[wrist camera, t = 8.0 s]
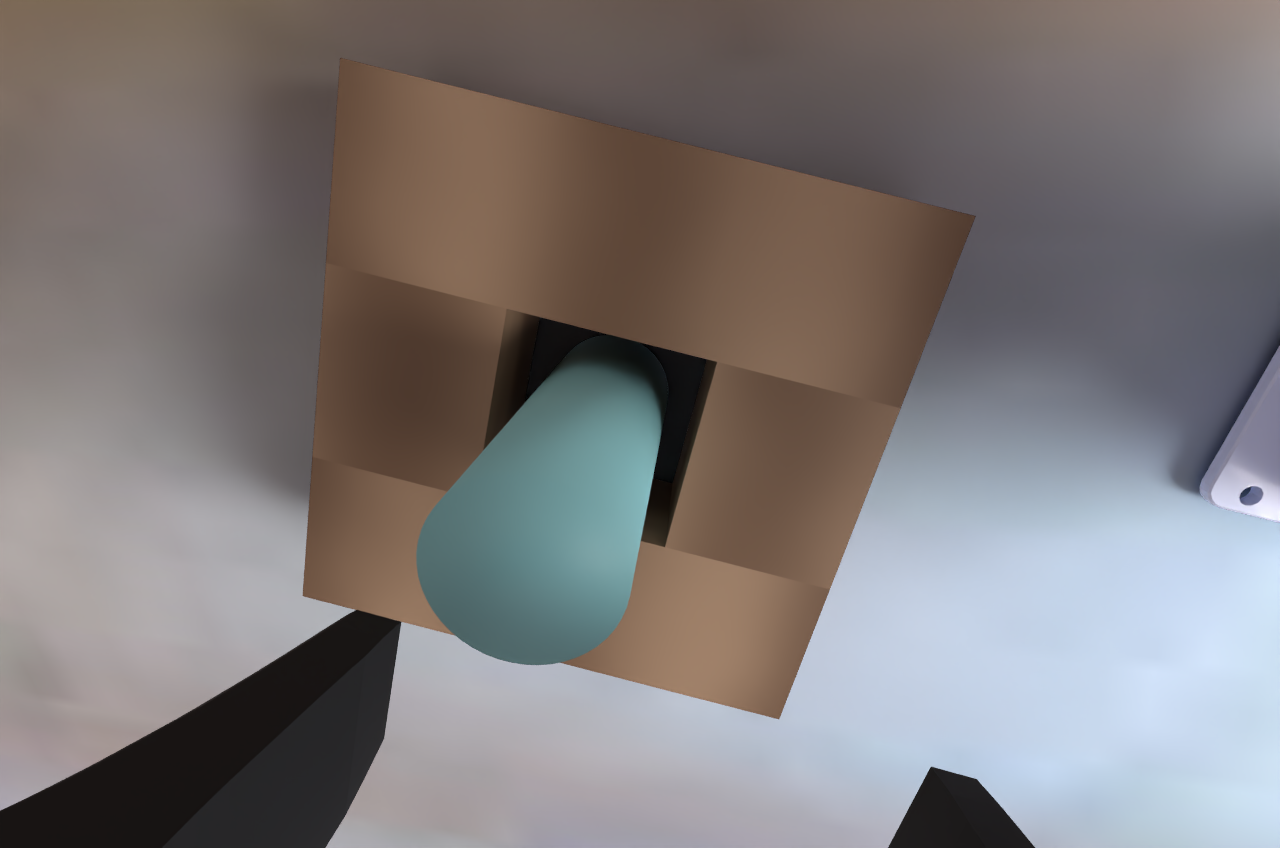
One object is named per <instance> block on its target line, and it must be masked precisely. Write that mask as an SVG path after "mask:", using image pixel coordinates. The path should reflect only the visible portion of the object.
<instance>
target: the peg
mask: <svg viewBox="0 0 1280 848" xmlns="http://www.w3.org/2000/svg"><path fill="white" fill-rule="evenodd" d="M667 402H668V382H667V378H666V374H665V372H664V370H663V367H662V366H661V364H660V362H659V361H658V359H657V358H656V357H655V355H654V354H653V353H652V352H651V351H650V350H649V349H647V348H646V347H645V346H643V345H642V344H640V343H638V342H637V341H633V340H629V339H625V338H621V337H617V336H613V335H602V336H596V337H593V338H590V339H587V340H585V341H583V342H581V343H580V344H578V345H577V346H575V347H574V348H573V349H572V350H571V351H570V352H569V353H568V354H567V355H566V356H565V357H564V359H563V360H562V361H561V362H560V363H559V364H558V365H557V367H556V368H555V369H554V370H553V371H552V372H551V374H550V375H549V376H548V377H547V378H546V379H545V380H544V382H543V383H542V384H541V385H540V386H539V387H538V388H537V390H536V391H535V392H534V393H533V394H532V395H531V396H530V398H529V399H528V400H527V401H526V402H525V403H524V404H523V406H522V407H521V408H520V409H519V410H518V411H517V413H516V414H515V415H514V416H513V417H512V418H511V419H510V421H509V422H508V423H507V424H506V425H505V426H504V427H503V429H502V430H501V431H500V432H499V433H498V434H497V435H496V437H495V438H494V439H493V440H492V441H491V442H490V443H489V445H488V446H487V447H486V448H485V449H484V450H483V451H482V453H481V454H480V455H479V456H478V457H477V458H476V460H475V461H474V462H473V463H472V464H471V465H470V466H469V468H468V469H467V470H466V471H465V472H464V473H463V474H462V476H461V477H460V478H459V479H458V480H457V481H456V482H455V484H454V485H453V486H452V487H451V488H450V489H449V490H448V492H447V493H446V494H445V495H444V496H443V497H442V499H441V500H440V501H439V502H438V503H437V504H436V505H435V507H434V508H433V509H432V511H431V512H430V514H429V515H428V517H427V518H426V520H425V523H424V525H423V527H422V529H421V532H420V536H419V539H418V544H417V551H416V565H417V572H418V578H419V581H420V584H421V588H422V590H423V593H424V595H425V597H426V600H427V601H428V603H429V605H430V607H431V608H432V610H433V612H434V613H435V614H436V615H437V617H438V618H439V619H440V621H441V622H442V623H443V624H444V625H445V626H446V627H447V628H448V629H449V630H450V631H451V632H452V633H453V634H454V635H456V636H457V637H458V638H459V639H460V640H462V641H463V642H465V643H466V644H468V645H469V646H471V647H472V648H474V649H476V650H478V651H480V652H482V653H484V654H486V655H489V656H492V657H494V658H497V659H500V660H504V661H508V662H512V663H518V664H526V665H546V664H554V663H560V662H564V661H568V660H571V659H574V658H577V657H579V656H581V655H583V654H585V653H587V652H589V651H591V650H592V649H594V648H595V647H597V646H598V645H599V644H601V643H602V642H603V641H604V640H605V639H607V638H608V636H609V635H610V634H611V633H612V632H613V631H614V630H615V628H616V627H617V625H618V624H619V622H620V621H621V619H622V617H623V615H624V613H625V610H626V608H627V605H628V601H629V598H630V593H631V588H632V583H633V578H634V573H635V567H636V562H637V557H638V552H639V547H640V542H641V536H642V531H643V526H644V521H645V516H646V511H647V505H648V500H649V495H650V490H651V485H652V480H653V474H654V469H655V464H656V459H657V454H658V449H659V444H660V438H661V433H662V428H663V423H664V418H665V413H666V407H667Z"/></svg>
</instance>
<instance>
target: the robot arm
mask: <svg viewBox="0 0 1280 848" xmlns="http://www.w3.org/2000/svg"><path fill="white" fill-rule="evenodd" d="M1250 486H1251V489H1250V492H1249V493H1248V494H1247V495H1246V496H1245V497H1242V498H1240V499H1239V497H1240V493H1241V492H1242V491H1243V490H1244V489H1246V488H1248V487H1250ZM1199 488H1200V494H1201V496H1202V497H1203V498H1204V499H1205V500H1206V501H1208V502H1210V503H1211V504H1213V505H1215V506H1217V507H1219V508H1223V509H1227V510H1231V511H1235V512H1239V513H1242V514H1246V515H1250V516H1254V517H1258V518H1262V519H1266V520H1270V521H1274V522H1278V523H1280V346H1279V348H1278V349H1277V351H1276V353H1275V354H1274V356H1273V358H1272V360H1271V361H1270V363H1269V365H1268V367H1267V368H1266V370H1265V372H1264V373H1263V375H1262V377H1261V379H1260V380H1259V382H1258V384H1257V386H1256V387H1255V389H1254V391H1253V392H1252V394H1251V396H1250V398H1249V399H1248V401H1247V403H1246V405H1245V406H1244V408H1243V410H1242V411H1241V413H1240V415H1239V417H1238V418H1237V420H1236V422H1235V424H1234V425H1233V427H1232V429H1231V430H1230V432H1229V434H1228V436H1227V437H1226V439H1225V441H1224V443H1223V444H1222V446H1221V448H1220V450H1219V451H1218V453H1217V455H1216V456H1215V458H1214V460H1213V462H1212V463H1211V465H1210V467H1209V469H1208V470H1207V472H1206V474H1205V475H1204V477H1203V479H1202V481H1201V484H1200V487H1199ZM400 627H401V622H400V621H397V620H393V619H389V618H386V617H382V616H378V615H375V614H371V613H368V612H364V611H360V610H355V611H354V612H352V613H350V614H348V615H346V616H345V617H343V618H341V619H340V620H338V621H337V622H335V623H333V624H332V625H330V626H329V627H327V628H326V629H324V630H322V631H321V632H319V633H318V634H316V635H314V636H313V637H311V638H310V639H308V640H307V641H305V642H303V643H302V644H300V645H299V646H297V647H296V648H294V649H292V650H291V651H289V652H288V653H286V654H284V655H283V656H281V657H280V658H278V659H276V660H275V661H273V662H272V663H270V664H268V665H267V666H265V667H264V668H262V669H260V670H259V671H257V672H255V673H254V674H252V675H250V676H249V677H247V678H245V679H244V680H242V681H240V682H239V683H237V684H235V685H234V686H232V687H230V688H229V689H227V690H225V691H224V692H222V693H220V694H219V695H217V696H215V697H214V698H212V699H210V700H209V701H207V702H205V703H203V704H202V705H200V706H198V707H197V708H195V709H193V710H192V711H190V712H188V713H186V714H185V715H183V716H181V717H179V718H178V719H176V720H174V721H172V722H170V723H169V724H167V725H165V726H163V727H161V728H159V729H158V730H156V731H154V732H152V733H150V734H148V735H147V736H145V737H143V738H141V739H139V740H137V741H136V742H134V743H132V744H130V745H128V746H126V747H125V748H123V749H121V750H119V751H117V752H116V753H114V754H112V755H110V756H108V757H106V758H105V759H103V760H101V761H99V762H97V763H95V764H93V765H91V766H89V767H88V768H86V769H84V770H82V771H80V772H78V773H76V774H74V775H72V776H70V777H68V778H66V779H64V780H62V781H60V782H58V783H56V784H54V785H52V786H50V787H48V788H46V789H44V790H42V791H40V792H38V793H36V794H34V795H32V796H30V797H28V798H26V799H24V800H22V801H20V802H18V803H16V804H14V805H11V806H9V807H7V808H5V809H3V810H1V811H0V848H325V847H326V846H327V844H328V842H329V841H330V839H331V838H332V836H333V835H334V833H335V831H336V830H337V828H338V827H339V825H340V823H341V822H342V820H343V818H344V817H345V815H346V813H347V811H348V809H349V807H350V805H351V803H352V801H353V800H354V798H355V796H356V794H357V792H358V790H359V788H360V786H361V784H362V782H363V780H364V778H365V776H366V774H367V772H368V770H369V768H370V766H371V764H372V762H373V760H374V758H375V756H376V754H377V752H378V750H379V748H380V746H381V743H382V741H383V739H384V735H385V728H386V721H387V714H388V708H389V701H390V694H391V687H392V681H393V674H394V667H395V660H396V654H397V647H398V640H399V633H400ZM888 848H1035V847H1034V846H1033V845H1032V843H1031V842H1030V841H1029V840H1028V839H1027V837H1026V836H1025V835H1024V834H1023V833H1022V831H1021V830H1020V829H1019V828H1018V826H1017V825H1016V824H1015V823H1014V822H1013V820H1012V819H1011V818H1010V817H1009V816H1008V815H1007V813H1006V812H1005V811H1004V810H1003V809H1002V807H1001V806H1000V805H999V804H998V803H997V802H996V800H995V799H994V798H993V797H992V796H991V795H990V794H989V793H988V791H987V790H986V789H985V788H984V787H983V786H982V785H981V784H980V782H979V781H978V780H977V779H974V778H970V777H967V776H963V775H959V774H956V773H952V772H948V771H945V770H941V769H938V768H934V767H931V768H930V770H929V771H928V773H927V775H926V777H925V779H924V781H923V783H922V785H921V787H920V788H919V790H918V792H917V794H916V796H915V798H914V800H913V802H912V804H911V805H910V807H909V809H908V811H907V813H906V815H905V817H904V819H903V821H902V822H901V824H900V826H899V828H898V830H897V832H896V834H895V836H894V838H893V839H892V841H891V843H890V845H889V847H888Z"/></svg>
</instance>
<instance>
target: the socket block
mask: <svg viewBox="0 0 1280 848" xmlns="http://www.w3.org/2000/svg"><path fill="white" fill-rule="evenodd" d="M974 219H975V216H973V215H969V214H965V213H961V212H957V211H953V210H949V209H945V208H941V207H937V206H933V205H929V204H925V203H921V202H917V201H913V200H909V199H905V198H901V197H897V196H893V195H889V194H885V193H881V192H877V191H873V190H869V189H865V188H861V187H857V186H853V185H849V184H845V183H841V182H837V181H833V180H829V179H825V178H821V177H816V176H812V175H808V174H804V173H800V172H796V171H792V170H788V169H784V168H780V167H776V166H772V165H768V164H764V163H760V162H756V161H752V160H748V159H744V158H740V157H736V156H732V155H728V154H724V153H720V152H716V151H712V150H708V149H704V148H700V147H696V146H692V145H688V144H684V143H680V142H676V141H672V140H668V139H664V138H660V137H656V136H652V135H648V134H644V133H640V132H636V131H632V130H628V129H624V128H620V127H616V126H612V125H608V124H604V123H600V122H596V121H592V120H588V119H584V118H580V117H576V116H572V115H568V114H564V113H560V112H556V111H552V110H548V109H544V108H540V107H535V106H531V105H527V104H523V103H519V102H515V101H511V100H507V99H503V98H499V97H495V96H491V95H487V94H483V93H479V92H475V91H471V90H467V89H463V88H459V87H455V86H451V85H447V84H443V83H439V82H435V81H431V80H427V79H423V78H419V77H415V76H411V75H407V74H403V73H399V72H395V71H391V70H387V69H383V68H379V67H375V66H371V65H367V64H363V63H359V62H355V61H351V60H347V59H343V58H340V69H339V83H338V97H337V112H336V126H335V140H334V155H333V169H332V183H331V198H330V212H329V226H328V241H327V255H326V269H325V284H324V298H323V312H322V327H321V341H320V355H319V370H318V384H317V398H316V413H315V427H314V441H313V456H312V470H311V484H310V499H309V513H308V527H307V542H306V556H305V570H304V584H303V596H305V597H308V598H312V599H316V600H320V601H324V602H328V603H332V604H335V605H339V606H343V607H347V608H351V609H355V610H360V611H364V612H368V613H371V614H375V615H378V616H382V617H386V618H390V619H393V620H397V621H401V622H405V623H409V624H413V625H417V626H421V627H424V628H428V629H432V630H436V631H440V632H444V633H448V634H451V635H454V634H453V633H452V632H451V631H450V630H449V629H448V628H447V627H446V626H445V625H444V624H443V623H442V622H441V621H440V619H439V618H438V617H437V615H436V614H435V613H434V612H433V610H432V608H431V607H430V605H429V603H428V601H427V600H426V597H425V595H424V593H423V590H422V588H421V584H420V581H419V578H418V572H417V565H416V551H417V544H418V539H419V536H420V532H421V529H422V527H423V525H424V523H425V520H426V518H427V517H428V515H429V514H430V512H431V511H432V509H433V508H434V507H435V505H436V504H437V503H438V502H439V501H440V500H441V499H442V497H443V496H444V495H445V494H446V493H447V492H448V490H449V489H450V488H451V487H452V486H453V485H454V484H455V482H456V481H457V480H458V479H459V478H460V477H461V476H462V474H463V473H464V472H465V471H466V470H467V469H468V468H469V466H470V465H471V464H472V463H473V462H474V461H475V460H476V458H477V457H478V456H479V455H480V454H481V453H482V451H483V450H484V449H485V448H486V447H487V446H488V445H489V443H490V442H491V441H492V440H493V439H494V438H495V437H496V435H497V434H498V433H499V432H500V431H501V430H502V429H503V427H504V426H505V425H506V424H507V423H508V422H509V421H510V419H511V418H512V417H513V416H514V415H515V414H516V413H517V411H518V410H519V409H520V408H521V407H522V406H523V404H524V401H525V396H526V390H527V385H528V379H529V374H530V368H531V363H532V358H533V352H534V347H535V341H536V336H537V330H538V325H539V319H540V317H542V318H546V319H549V320H553V321H557V322H561V323H565V324H569V325H573V326H577V327H581V328H585V329H589V330H593V331H597V332H601V333H605V334H609V335H613V336H617V337H621V338H625V339H629V340H633V341H637V342H640V343H644V344H648V345H652V346H656V347H660V348H664V349H668V350H672V351H676V352H680V353H684V354H688V355H692V356H696V357H700V358H704V359H707V361H706V364H705V368H704V371H703V375H702V379H701V382H700V386H699V389H698V393H697V397H696V400H695V404H694V407H693V411H692V415H691V418H690V422H689V426H688V429H687V433H686V436H685V440H684V444H683V447H682V451H681V454H680V458H679V462H678V465H677V469H676V472H675V476H674V480H673V483H669V482H665V481H662V480H658V479H654V478H653V480H652V485H651V490H650V495H649V500H648V505H647V511H646V516H645V521H644V526H643V531H642V536H641V542H640V547H639V552H638V557H637V562H636V567H635V573H634V578H633V583H632V588H631V593H630V598H629V601H628V605H627V608H626V610H625V613H624V615H623V617H622V619H621V621H620V622H619V624H618V625H617V627H616V628H615V630H614V631H613V632H612V633H611V634H610V635H609V636H608V638H607V639H605V640H604V641H603V642H602V643H601V644H599V645H598V646H597V647H595V648H594V649H592V650H591V651H589V652H587V653H585V654H583V655H581V656H579V657H577V658H574V659H571V660H568V661H564V662H560V663H564V664H567V665H571V666H575V667H579V668H583V669H587V670H591V671H594V672H598V673H602V674H606V675H610V676H614V677H618V678H622V679H625V680H629V681H633V682H637V683H641V684H645V685H649V686H652V687H656V688H660V689H664V690H668V691H672V692H676V693H679V694H683V695H687V696H691V697H695V698H699V699H703V700H707V701H710V702H714V703H718V704H722V705H726V706H730V707H734V708H737V709H741V710H745V711H749V712H753V713H757V714H761V715H765V716H768V717H772V718H776V719H779V718H780V716H781V713H782V710H783V708H784V705H785V703H786V700H787V698H788V695H789V693H790V690H791V687H792V685H793V682H794V680H795V677H796V675H797V672H798V670H799V667H800V664H801V662H802V659H803V657H804V654H805V652H806V649H807V646H808V644H809V641H810V639H811V636H812V634H813V631H814V629H815V626H816V623H817V621H818V618H819V616H820V613H821V611H822V608H823V606H824V603H825V600H826V598H827V595H828V593H829V590H830V588H831V585H832V582H833V580H834V577H835V575H836V572H837V570H838V567H839V565H840V562H841V559H842V557H843V554H844V552H845V549H846V547H847V544H848V542H849V539H850V536H851V534H852V531H853V529H854V526H855V524H856V521H857V518H858V516H859V513H860V511H861V508H862V506H863V503H864V501H865V498H866V495H867V493H868V490H869V488H870V485H871V483H872V480H873V478H874V475H875V472H876V470H877V467H878V465H879V462H880V460H881V457H882V454H883V452H884V449H885V447H886V444H887V442H888V439H889V437H890V434H891V431H892V429H893V426H894V424H895V421H896V419H897V416H898V414H899V411H900V408H901V406H902V403H903V401H904V398H905V396H906V393H907V390H908V388H909V385H910V383H911V380H912V378H913V375H914V373H915V370H916V367H917V365H918V362H919V360H920V357H921V355H922V352H923V350H924V347H925V344H926V342H927V339H928V337H929V334H930V332H931V329H932V326H933V324H934V321H935V319H936V316H937V314H938V311H939V309H940V306H941V303H942V301H943V298H944V296H945V293H946V291H947V288H948V286H949V283H950V280H951V278H952V275H953V273H954V270H955V268H956V265H957V262H958V260H959V257H960V255H961V252H962V250H963V247H964V245H965V242H966V239H967V237H968V234H969V232H970V229H971V227H972V224H973V222H974ZM455 636H456V635H455Z"/></svg>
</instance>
